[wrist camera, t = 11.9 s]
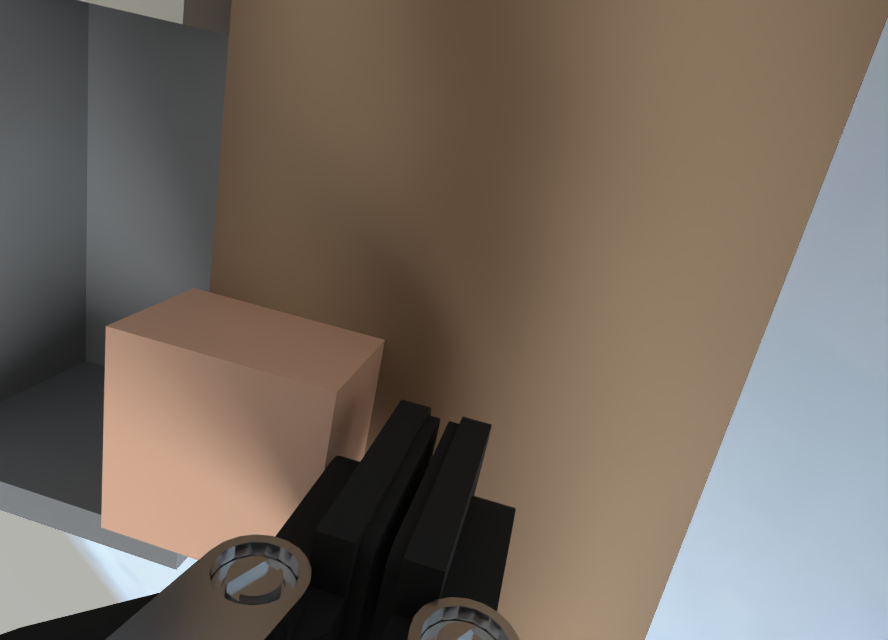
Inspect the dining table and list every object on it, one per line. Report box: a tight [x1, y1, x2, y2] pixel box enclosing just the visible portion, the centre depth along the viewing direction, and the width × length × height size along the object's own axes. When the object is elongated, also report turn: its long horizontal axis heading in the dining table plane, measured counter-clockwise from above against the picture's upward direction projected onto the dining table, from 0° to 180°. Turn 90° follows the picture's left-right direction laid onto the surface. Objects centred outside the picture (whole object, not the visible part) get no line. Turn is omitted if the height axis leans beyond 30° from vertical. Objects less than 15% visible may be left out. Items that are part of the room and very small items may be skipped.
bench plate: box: [209, 0, 888, 640], centre depth 14 cm, size 10×18×6 cm, turn 169°
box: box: [0, 0, 229, 569], centre depth 15 cm, size 8×18×6 cm, turn 169°
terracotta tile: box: [101, 288, 385, 560], centre depth 12 cm, size 4×4×2 cm
